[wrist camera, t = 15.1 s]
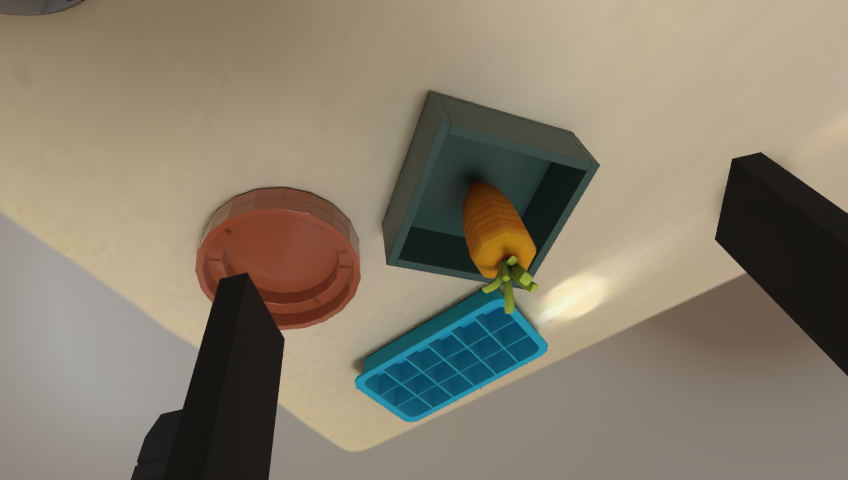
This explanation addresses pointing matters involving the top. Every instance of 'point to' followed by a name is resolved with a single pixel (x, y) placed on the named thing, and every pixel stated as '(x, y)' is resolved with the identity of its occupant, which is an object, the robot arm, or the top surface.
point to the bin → (486, 162)
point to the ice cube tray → (450, 357)
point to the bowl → (283, 254)
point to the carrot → (497, 240)
